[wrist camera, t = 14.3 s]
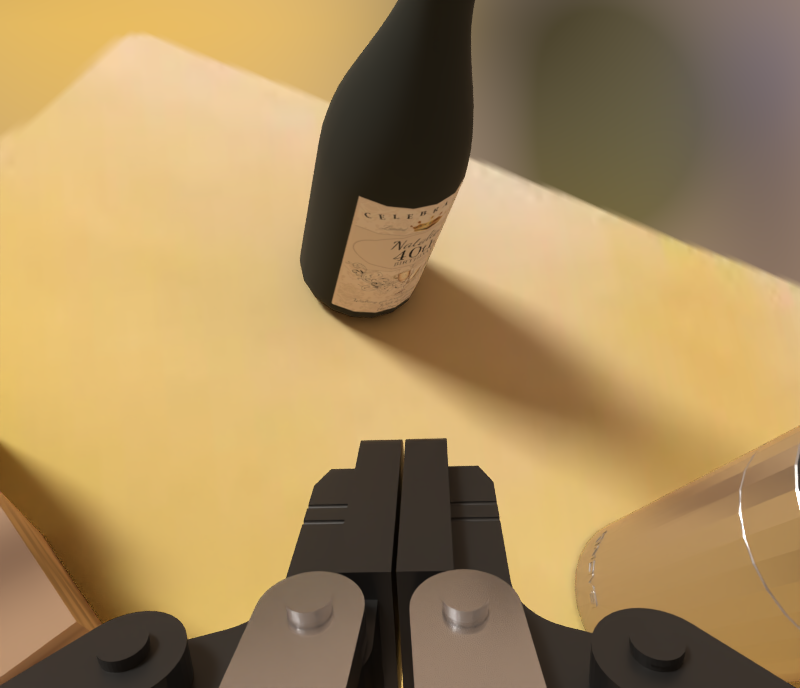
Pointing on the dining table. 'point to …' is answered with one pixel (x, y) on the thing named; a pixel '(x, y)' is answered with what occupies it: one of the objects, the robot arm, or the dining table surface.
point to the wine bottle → (391, 159)
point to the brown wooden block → (34, 597)
